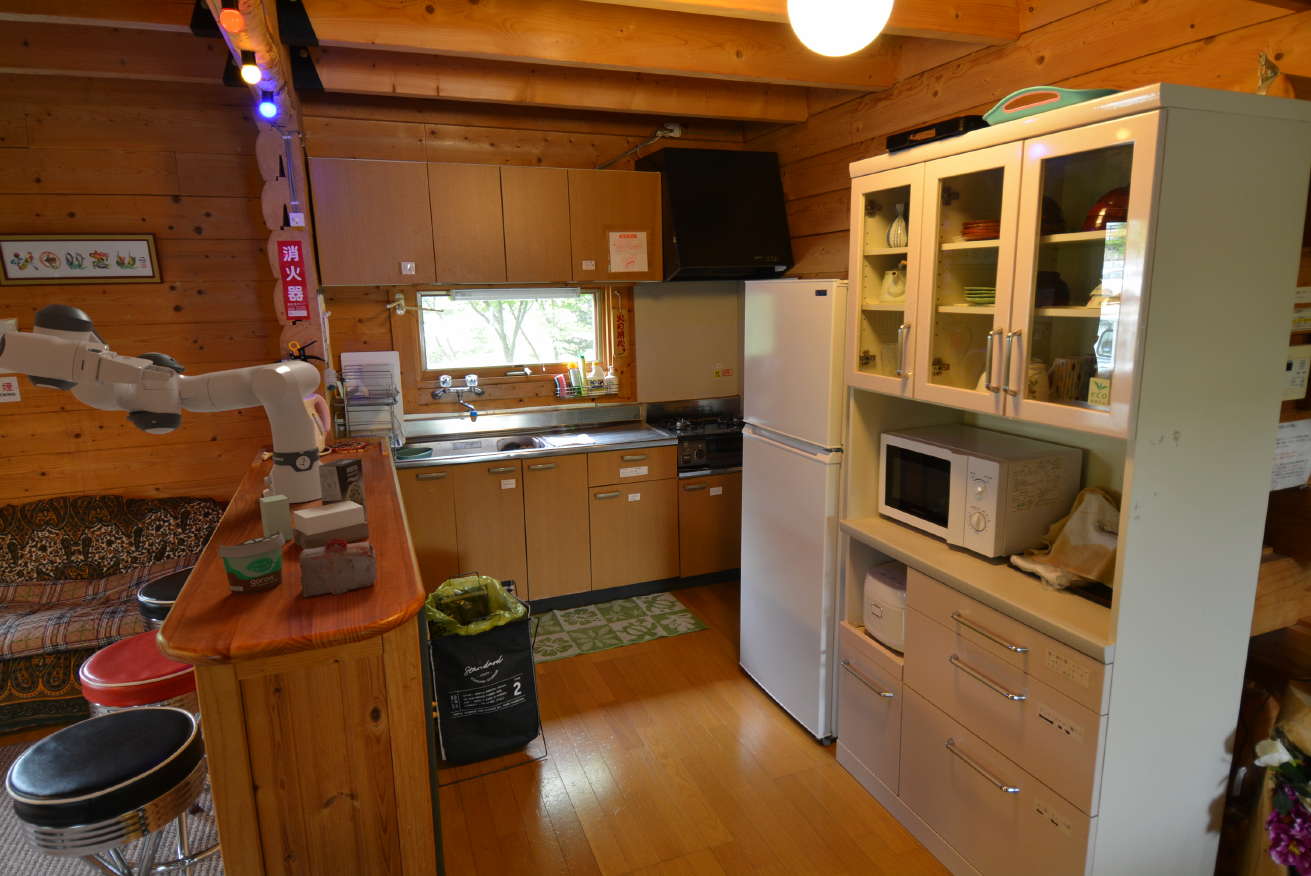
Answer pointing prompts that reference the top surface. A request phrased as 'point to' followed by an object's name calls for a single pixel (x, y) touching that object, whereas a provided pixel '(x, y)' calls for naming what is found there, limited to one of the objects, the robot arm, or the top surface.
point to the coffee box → (342, 482)
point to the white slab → (328, 517)
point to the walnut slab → (331, 536)
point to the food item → (337, 567)
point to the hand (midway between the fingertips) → (171, 375)
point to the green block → (276, 516)
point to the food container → (254, 564)
